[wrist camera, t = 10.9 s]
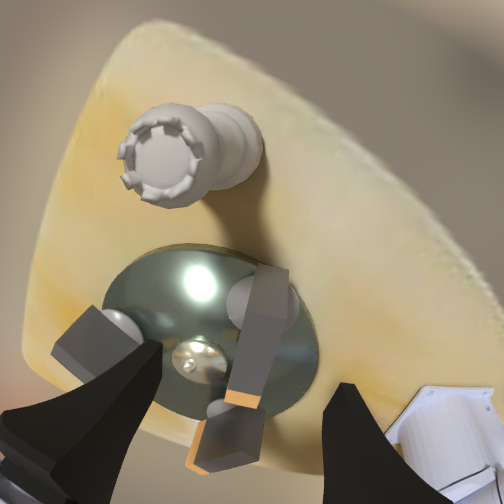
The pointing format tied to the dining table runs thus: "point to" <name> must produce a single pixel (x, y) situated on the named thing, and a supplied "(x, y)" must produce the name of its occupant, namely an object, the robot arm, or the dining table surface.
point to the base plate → (206, 327)
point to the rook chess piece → (189, 152)
